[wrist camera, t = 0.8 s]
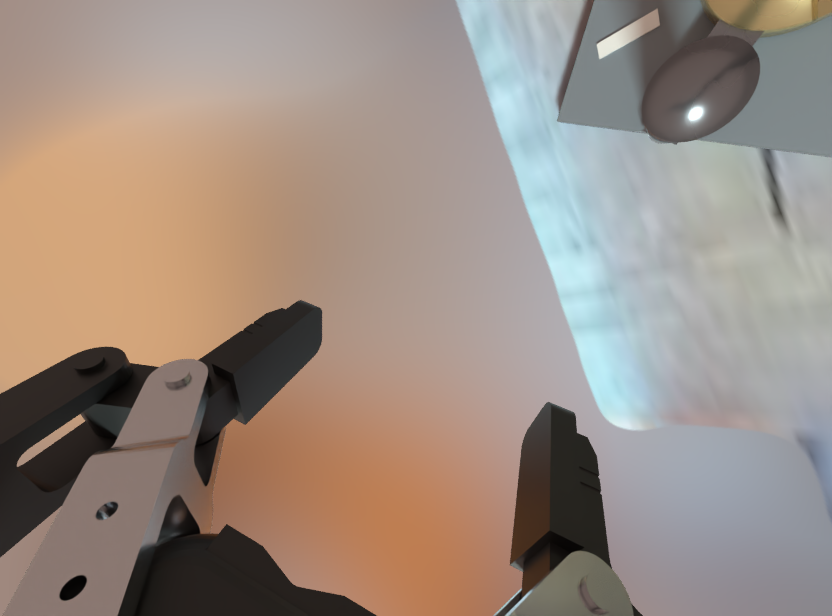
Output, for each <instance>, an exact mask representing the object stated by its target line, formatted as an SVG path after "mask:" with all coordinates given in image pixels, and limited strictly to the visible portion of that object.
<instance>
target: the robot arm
mask: <svg viewBox="0 0 832 616" xmlns="http://www.w3.org/2000/svg"><path fill="white" fill-rule="evenodd" d="M321 342H322V310H321V309H320V308H319V307H317V306H314V305H312V304H309V303H307V302H304V301H301V300H300V301H297V302H296V303H294V304H293V305H291V306H290V307H289V308H287V309H283V308H281V309H278V310H275V311H272V312H269V313H266V314H265V315H264V316H262V317H261V318H259V319H258V320H256V321H255V322H254V324H250V325H249V326H247V327H246V328H245V329H244V330H243V331H240V332H239V333H237V334H236V335H234V336H233V337H231V338H230V339H229V340H227V341H226V342H224V343H223V344H221V345H220V346H218V347H217V348H215V349H214V350H213V351H211V352H210V353H208V354H207V355H205V356H204V357H202V358H201V359H199V360H194V359H182V360H176V361H173V362H169V363H167V364H164V365H163V366H161V367H154V366H147V365H139V364H132V363H129V361H128V359H127V357H126V355H125V353H124V352H123V351H122V350H120V349H118V348H113V347H99V348H92V349H88V350H85V351H82V352H79V353H77V354H75V355H72V356H71V357H69V358H67V359H65V360H63V361H61V362H59V363H57V364H55V365H54V366H52V367H50V368H48V369H46V370H44V371H43V372H40V373H39V374H37V375H35V376H33V377H31V378H29V379H27V380H26V381H24V382H22V383H20V384H18V385H16V386H14V387H12V388H11V389H9V390H7V391H5V392H3V393H1V394H0V557H1V556H2V555H4V554H5V553H6V552H7V551H8V550H10V549H11V548H12V547H13V546H14V545H15V544H16V543H18V542H19V541H20V540H21V539H22V538H24V537H25V536H26V535H27V534H28V533H30V532H31V531H32V530H33V529H34V528H36V527H37V526H38V525H39V524H40V523H42V522H43V521H44V520H45V519H46V518H47V517H49V516H50V515H51V514H52V513H53V512H55V511H56V510H57V509H58V508H59V507H60V506H62V507H61V509H60V510H59V512H58V514H57V516H56V518H55V520H54V522H53V524H52V525H51V527H50V529H49V531H48V533H47V534H46V536H45V538H44V540H43V542H42V544H41V545H40V548H39V549H38V551H37V553H36V555H35V557H34V558H33V560H32V562H31V564H30V566H29V568H28V569H27V571H26V573H25V575H24V577H23V579H22V580H21V582H20V584H19V586H18V588H17V590H16V592H15V593H14V595H13V597H12V599H11V601H10V603H9V604H8V606H7V608H6V610H5V612H4V614H3V616H376V615H375V614H373V613H371V612H370V611H368V610H366V609H365V608H363V607H362V606H360V605H358V604H357V603H355V602H353V601H352V600H350V599H348V598H347V597H345V596H341V595H336V594H331V593H326V592H321V591H316V590H311V589H306V588H301V587H297V586H295V585H293V584H292V583H291V582H290V581H289V580H288V578H287V577H286V576H285V574H284V573H283V572H282V570H281V569H280V568H279V567H278V566H277V564H276V563H275V561H274V560H273V559H272V558H271V556H270V555H269V554H268V552H267V551H266V550H265V549H264V547H263V546H261V545H259V544H258V543H257V542H255V541H253V540H252V539H250V538H248V537H247V536H245V535H244V534H241V533H240V532H239V531H237V530H235V529H233V528H232V527H230V526H229V525H227V524H226V526H225V527H224V528H223V529H222V530H221V532H220V533H219V534H210V532H211V526H212V520H213V489H214V484H215V479H216V474H217V469H218V465H219V460H220V455H221V450H222V446H223V441H224V436H225V431H226V427H225V426H226V425H227V424H228V423H229V422H230V421H231V420H232V419H235V420H237V421H239V422H241V423H243V424H245V425H246V424H247V423H248V422H249V421H250V420H251V419H252V418H253V417H254V416H255V415H256V414H257V413H258V412H259V411H260V410H261V409H262V408H263V407H264V406H265V405H266V404H267V403H268V402H269V401H270V400H271V399H272V398H273V397H274V396H275V395H276V394H277V393H278V392H279V391H280V390H281V389H282V388H283V387H284V386H285V385H286V384H287V383H288V382H289V381H290V380H291V379H292V378H293V377H294V376H295V375H296V374H297V373H298V372H299V371H300V369H302V368H303V367H304V366H305V365H306V364H307V363H308V362H309V361H310V360H311V359H312V357H314V356H315V354H316V353H317V352H318V350H319V348H320V345H321ZM79 414H81V415H82V417H83V418H84V419H85V422H84V423H82V424H81V425H79V426H78V427H76V428H75V429H74V430H72V431H71V432H69V433H68V434H67V435H65V436H64V437H62V438H61V439H59V440H58V441H56V442H55V443H54V444H52V445H51V446H49V447H48V448H46V449H45V450H43V451H42V452H41V453H39V454H38V455H36V456H35V457H34V458H32V459H31V460H29V461H28V462H26V463H25V464H23V465H21V466H19V467H17V461H18V460H19V458H20V457H21V455H22V454H23V453H24V452H25V451H26V450H27V449H29V448H30V447H32V446H33V445H35V444H36V443H38V442H39V441H41V440H42V439H44V438H45V437H47V436H48V435H49V434H51V433H53V432H54V431H55V430H57V429H58V428H60V427H61V426H63V425H64V424H66V423H67V422H69V421H70V420H72V419H73V418H75V417H76V416H78V415H79ZM598 476H599V471H598V463H597V456H596V454H595V452H594V450H593V448H592V446H591V444H590V442H589V440H588V438H587V437H585V436H583V435H580V434H578V433H577V428H576V416H575V414H574V412H571V411H569V410H567V409H564V408H562V407H559V406H557V405H555V404H552V403H550V402H548V403H546V404H545V406H544V407H543V408H542V410H541V411H540V413H539V414H538V416H537V417H536V418H535V420H534V421H533V423H532V424H531V426H530V427H529V429H528V430H527V432H526V434H525V437H524V440H523V443H522V449H521V459H520V469H519V479H518V489H517V498H516V508H515V519H514V529H513V538H512V549H511V558H510V565H511V566H513V567H515V568H516V569H519V570H520V571H522V572H523V580H522V588H521V589H520V590H519V591H518V592H517V593H516V594H515V595H514V596H513V597H512V598H511V599H510V600H509V601H508V602H507V603H506V604H505V605H504V606H503V607H502V608H501V609H500V610H499V611H498V612H497V613H495V615H493V616H643V615H642V614H640V613H639V612H638V611H637V609H636V608H635V607H634V606H633V605H632V604H631V601H630V598H629V596H628V593H627V591H626V589H625V587H624V585H623V584H622V582H621V580H620V579H619V577H618V576H617V575H616V573H615V572H614V571H613V570H612V567H611V564H610V558H609V552H608V544H607V536H606V527H605V519H604V511H603V503H602V495H601V494H600V492H601V486H600V479H599V478H598Z"/></svg>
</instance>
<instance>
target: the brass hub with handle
mask: <svg viewBox="0 0 832 616" xmlns="http://www.w3.org/2000/svg"><path fill="white" fill-rule="evenodd" d="M701 4H702V7H703V10H704V12H705V14H706V15H707V17H708V18H709V20H710V21H711V22H712V23H713V24H714V25H715V27H714V28H713V30H712V31H711V32H710V34H709V35H708V37H707V38H704V39H701V40H698V41H696V42H693V43H691V44H689V45H687V46H685V47H684V48H682V49H681V50H679V51H678V52H676V53H675V54H674V55H672V56H671V57H670V58H669V59H668V60H667V61H665V62H664V63H663V64H662V66H661V67H660V68H659V69H658V70H657V71H656V73H655V74H654V76H653V77H652V79H651V80H650V82H649V84H648V86H647V88H646V90H645V93H644V96H643V101H642V117H643V121H644V124H645V128H644V129H643V130H642V131H643V132H645V133H648V136H649V138H650V139H651V140H652V141H654V142H656V143H673V144H675V145H676V144H677V143H678V142H687V141H692V140H696V139H700V138H702V137H705V136H707V135H710V134H712V133H714V132H716V131H717V130H719V129H720V128H722V127H724V126H725V125H726V124H728V123H729V122H730V121H731V120H733V119H734V118H735V117H736V116H737V115H738V114H739V113H740V112H741V111H742V110H743V108H744V107H745V106H746V104H747V103H748V102H749V100H750V99H751V97H752V95H753V93H754V91H755V89H756V87H757V84H758V81H759V76H760V61H759V57H758V54H757V52H756V51H755V49H754V48H753V47H752V46H753V45H754V44H755V42H756V41H757V40H758V39H759V38H762V37H772V36H777V35H782V34H786V33H789V32H792V31H796V30H799V29H802V28H804V27H807V26H809V25H812V24H814V23H816V22H818V21H821V20H823V19H825V18H827V17H829V16H831V15H832V0H701Z"/></svg>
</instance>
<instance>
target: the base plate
mask: <svg viewBox="0 0 832 616" xmlns="http://www.w3.org/2000/svg"><path fill="white" fill-rule="evenodd" d="M714 27H715V25H714V24H713V23H712V22H711V21H710V20H709V18H708V17H707V15H706V14H705V12H704V10H703V7H702V4H701V0H594V3H593V6H592V10H591V13H590V16H589V19H588V23H587V26H586V29H585V32H584V35H583V39H582V42H581V45H580V48H579V51H578V55H577V58H576V61H575V64H574V67H573V71H572V74H571V77H570V80H569V83H568V87H567V90H566V93H565V96H564V99H563V103H562V106H561V109H560V112H559V116H558V119H557V121H558V122H562V123H569V124H577V125H585V126H593V127H601V128H608V129H616V130H624V131H632V132H639V133H645V132H643V131H642V130H643V129H644V128H645V124H644V121H643V117H642V101H643V96H644V93H645V90H646V88H647V86H648V84H649V82H650V80H651V79H652V77H653V76H654V74H655V73H656V71H657V70H658V69H659V68H660V67H661V66H662V64H663V63H664V62H665V61H667V60H668V59H669V58H670V57H671V56H672V55H674V54H675V53H676V52H678V51H679V50H681V49H682V48H684V47H685V46H687V45H689V44H691V43H693V42H696V41H698V40H701V39H704V38H707V37H708V35H709V34H710V32H711V31H712V30H713V28H714ZM752 47H753V48H754V49H755V51H756V52H757V54H758V57H759V61H760V76H759V81H758V84H757V87H756V89H755V91H754V93H753V95H752V97H751V99H750V100H749V102H748V103H747V104H746V106H745V107H744V108H743V110H742V111H741V112H740V113H739V114H738V115H737V116H736V117H735V118H734V119H733V120H731V121H730V122H729V123H728V124H726V125H725V126H724V127H722V128H720V129H719V130H717V131H716V132H714V133H712V134H710V135H707V136H705V137H702V138H700V139H696V140H702V141H710V142H717V143H725V144H733V145H741V146H748V147H756V148H764V149H772V150H780V151H787V152H795V153H803V154H811V155H819V156H826V157H832V15H831V16H829V17H827V18H825V19H823V20H821V21H818V22H816V23H814V24H812V25H809V26H807V27H804V28H802V29H799V30H796V31H792V32H789V33H786V34H782V35H777V36H772V37H762V38H759V39H758V40H757V41H756V42H755V44H754V45H753V46H752ZM647 134H648V133H647Z"/></svg>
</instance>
